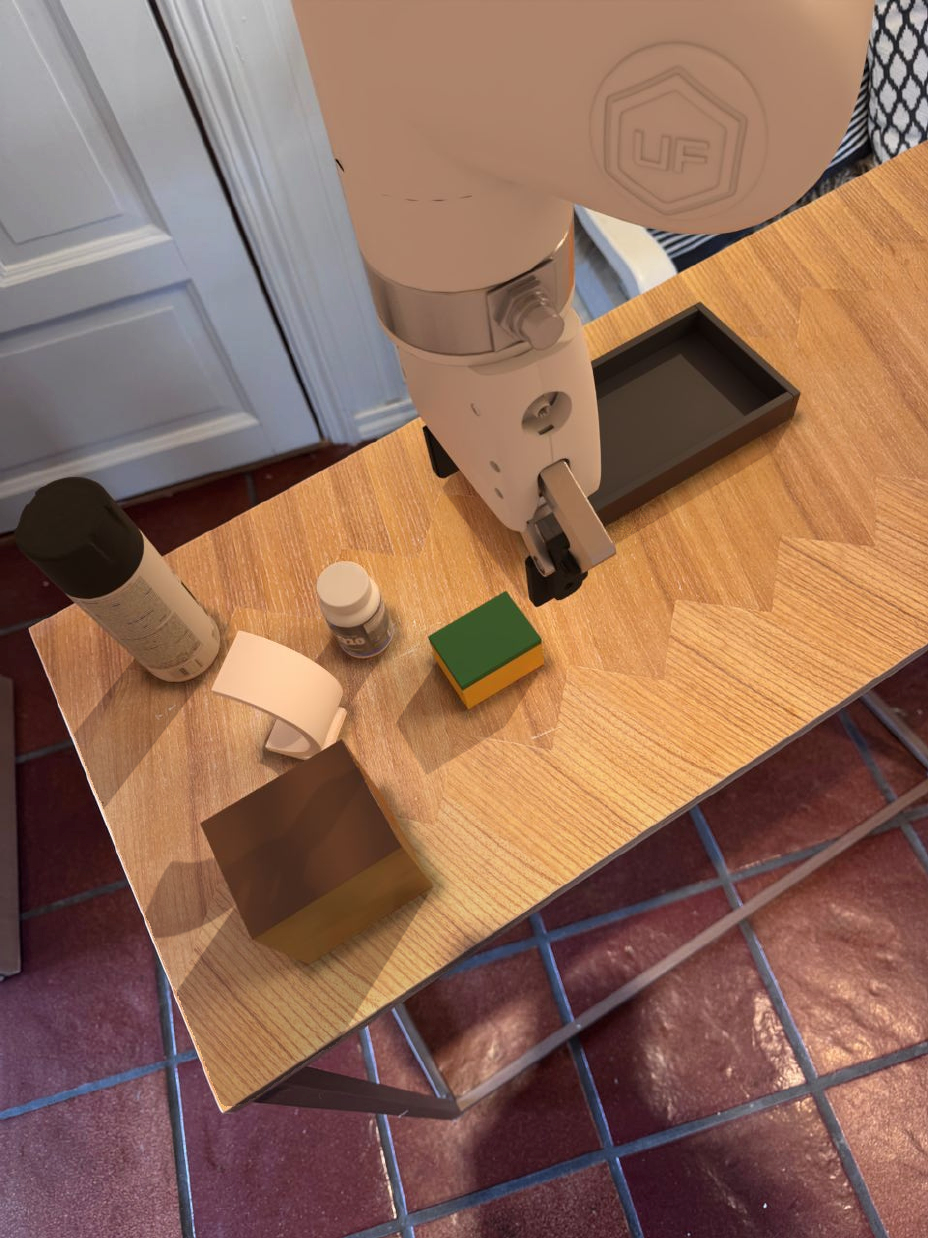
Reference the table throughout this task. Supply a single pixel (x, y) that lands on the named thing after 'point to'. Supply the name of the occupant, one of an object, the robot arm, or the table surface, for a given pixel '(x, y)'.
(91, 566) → the spray can
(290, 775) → the brown wooden cube
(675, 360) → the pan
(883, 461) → the table surface
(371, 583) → the pill bottle
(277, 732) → the cream curved piece
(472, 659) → the sponge
